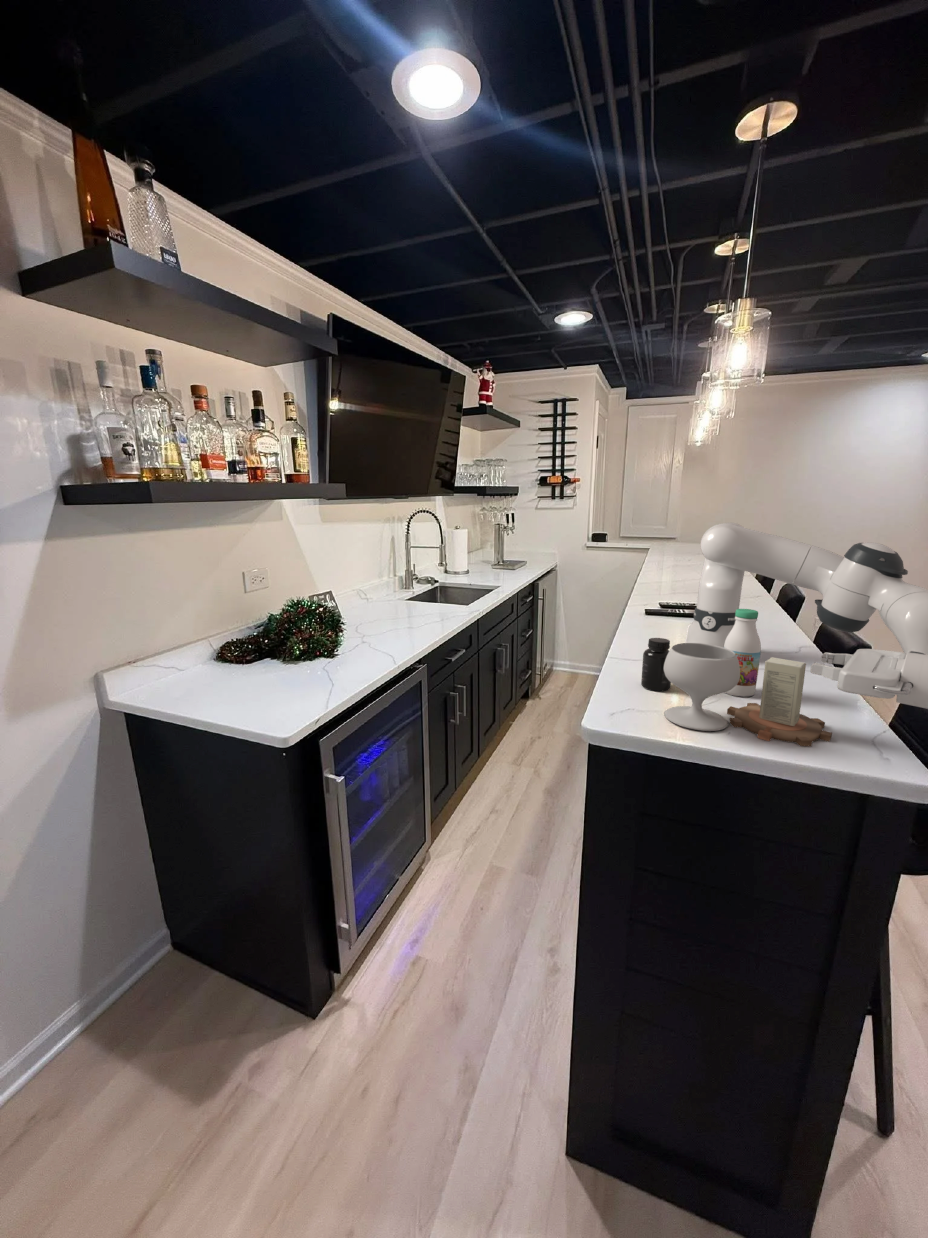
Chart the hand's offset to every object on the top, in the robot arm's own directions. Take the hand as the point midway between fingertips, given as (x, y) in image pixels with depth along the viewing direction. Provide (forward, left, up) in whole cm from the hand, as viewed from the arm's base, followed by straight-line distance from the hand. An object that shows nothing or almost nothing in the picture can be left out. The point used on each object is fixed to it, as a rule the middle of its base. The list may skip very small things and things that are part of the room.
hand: (817, 662), depth 94 cm
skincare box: (0, -5, -13) cm, 14 cm away
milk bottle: (-15, -17, -15) cm, 27 cm away
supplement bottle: (-4, -32, -15) cm, 35 cm away
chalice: (+9, -18, -15) cm, 25 cm away
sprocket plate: (0, -5, -15) cm, 15 cm away
